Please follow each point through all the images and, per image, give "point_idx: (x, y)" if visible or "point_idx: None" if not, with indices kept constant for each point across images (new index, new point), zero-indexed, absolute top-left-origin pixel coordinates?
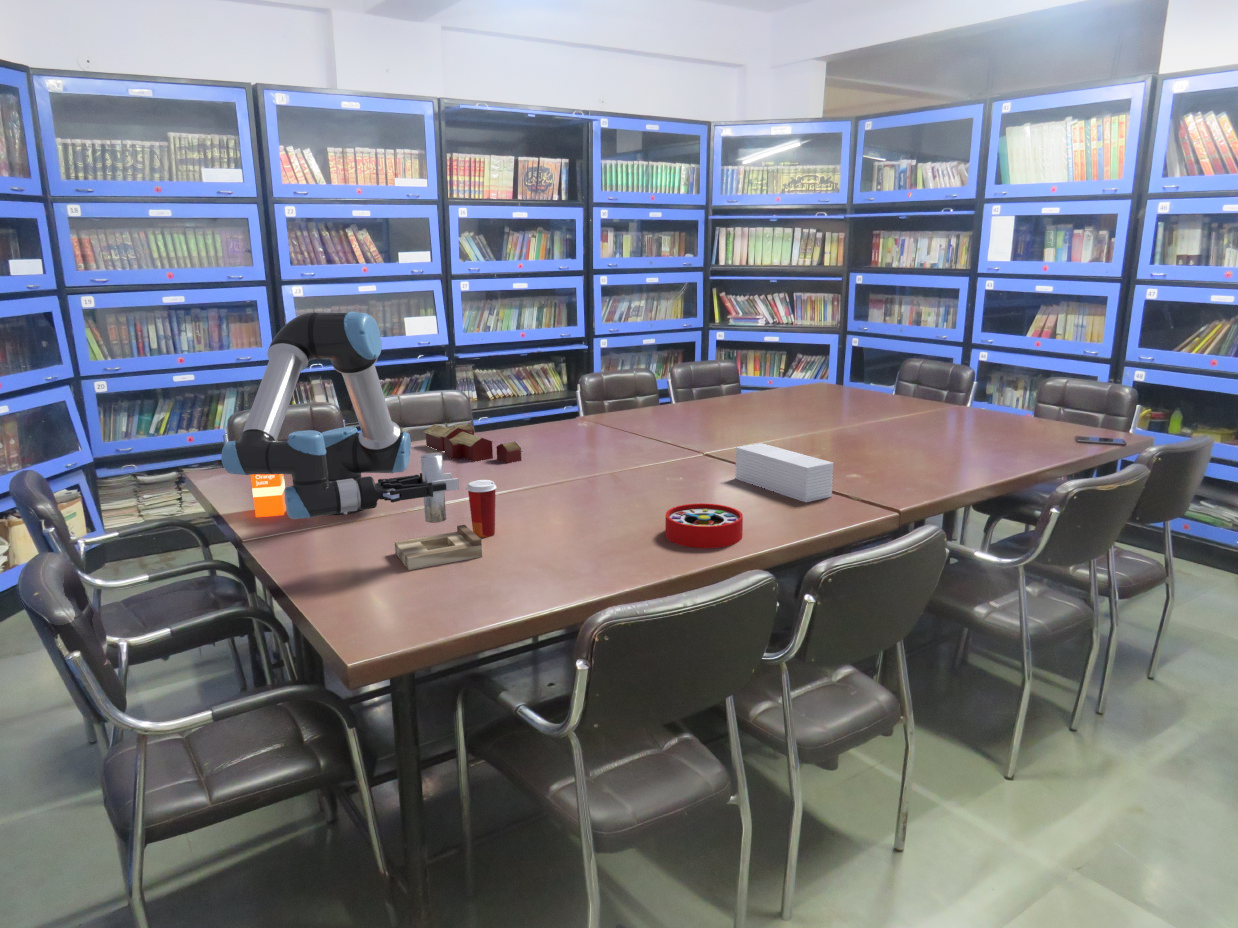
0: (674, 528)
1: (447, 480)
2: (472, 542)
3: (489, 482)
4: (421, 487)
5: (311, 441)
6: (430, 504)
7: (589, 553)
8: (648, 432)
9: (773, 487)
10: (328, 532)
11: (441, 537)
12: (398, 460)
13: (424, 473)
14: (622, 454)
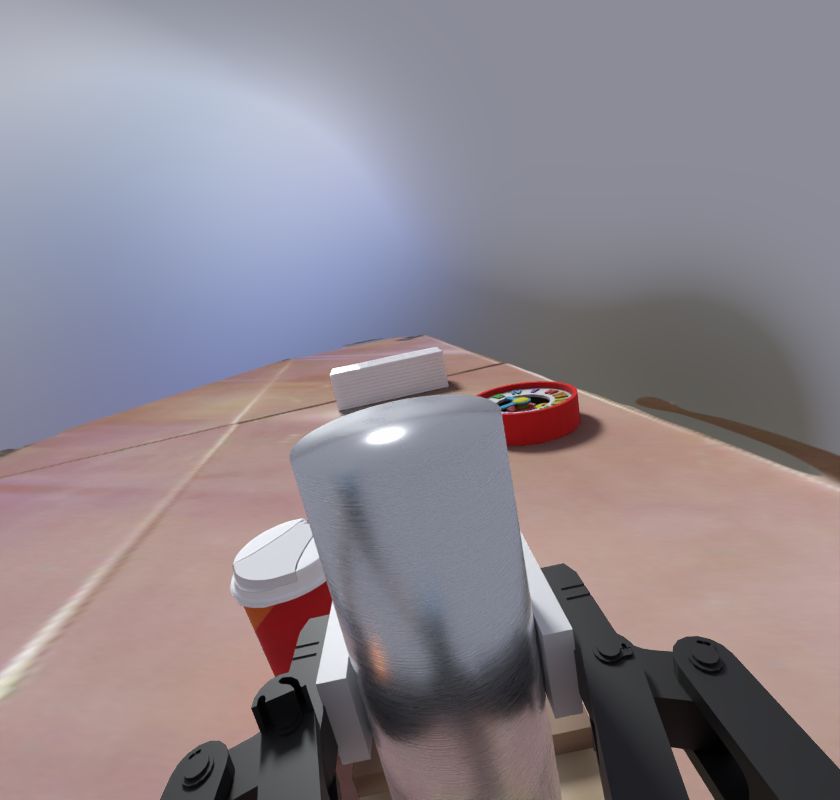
0: (547, 419)
1: (525, 543)
2: (578, 739)
3: (299, 527)
4: (818, 749)
5: None
6: None
7: (585, 512)
8: (99, 450)
9: (400, 392)
10: None
11: None
12: None
13: (487, 620)
14: (136, 468)
